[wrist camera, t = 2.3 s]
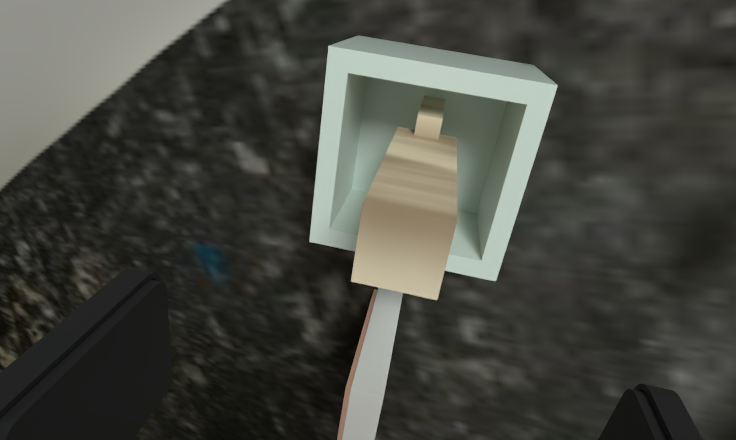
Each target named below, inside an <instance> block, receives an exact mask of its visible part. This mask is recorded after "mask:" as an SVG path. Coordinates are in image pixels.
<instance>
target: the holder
mask: <svg viewBox="0 0 736 440" xmlns="http://www.w3.org/2000/svg"><path fill="white" fill-rule="evenodd" d="M557 86H558V85H557V84H556V83H554V82H553V81H552V80H551V79H550V78H548V77H547V76H546V75H545V74H544V73H542V72H541V71H540V70H539V69H538V68H536V67H535V66H534V65H530V64H524V63H518V62H512V61H506V60H500V59H494V58H488V57H482V56H477V55H471V54H465V53H459V52H453V51H447V50H441V49H435V48H429V47H423V46H417V45H411V44H406V43H400V42H394V41H388V40H382V39H376V38H370V37H364V36H356V37H353V38H350V39H347V40H344V41H341V42H338V43H336V44H333V45H330V46H329V48H328V58H327V68H326V78H325V88H324V98H323V108H322V118H321V129H320V139H319V149H318V159H317V169H316V179H315V189H314V199H313V210H312V220H311V230H310V240H309V242H312V243H317V244H322V245H327V246H331V247H336V248H341V249H345V250H350V251H356V244H357V237H358V231H359V224H360V217H361V211H362V204H363V201H364V199H365V197H366V194H367V192H368V190H369V188H370V186H371V184H372V182H373V179H374V177H375V175H376V173H377V171H378V169H379V167H380V164H381V162H382V160H383V158H384V156H385V154H386V151H387V149H388V147H389V145H390V143H391V141H392V139H393V136H394V134H395V132H396V130H397V128H398V127H402V128H408V129H413V130H415V127H416V122H417V116H418V113H419V110H420V107H421V104H422V101H423V98H424V96H429V97H434V98H440V99H445V104H444V113H443V121H442V125H441V130H440V135H446V136H451V137H456V138H457V224H456V228H455V232H454V236H453V240H452V244H451V248H450V252H449V256H448V260H447V264H446V268H445V271H449V272H454V273H459V274H463V275H468V276H473V277H477V278H482V279H487V280H492V281H496V279H497V276H498V273H499V270H500V267H501V264H502V260H503V257H504V254H505V251H506V248H507V245H508V241H509V238H510V235H511V232H512V229H513V226H514V222H515V219H516V216H517V213H518V210H519V207H520V203H521V200H522V197H523V194H524V191H525V188H526V184H527V181H528V178H529V175H530V172H531V169H532V165H533V162H534V159H535V156H536V153H537V150H538V146H539V143H540V140H541V137H542V134H543V131H544V127H545V124H546V121H547V118H548V115H549V112H550V108H551V105H552V102H553V99H554V96H555V93H556V89H557Z"/></svg>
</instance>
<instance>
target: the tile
mask: <svg viewBox="0 0 736 440" xmlns="http://www.w3.org/2000/svg"><path fill="white" fill-rule="evenodd" d="M402 295H403V293H402V292H397V291H392V290H388V289H383V288H379V287H378V290H376V289H374V291H373V294H372V298H371V301H370V305H369V308H368V312H367V315H366V319H365V322H364V326H363V329H362V333H361V336H360V340H359V343H358V346H357V350H356V353H355V357H354V360H353V364H352V367H351V371H350V374H349V378H348V381H347V385H346V389H345V395H344V401H343V407H342V413H341V419H340V425H339V431H338V437H337V440H375V435H376V430H377V426H378V421H379V416H380V412H381V407H382V403H383V398H384V393H385V387H386V382H387V377H388V371H389V366H390V360H391V355H392V349H393V344H394V339H395V333H396V328H397V322H398V317H399V311H400V306H401V301H402Z"/></svg>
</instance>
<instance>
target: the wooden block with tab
mask: <svg viewBox="0 0 736 440" xmlns="http://www.w3.org/2000/svg"><path fill="white" fill-rule="evenodd" d="M444 104H445V99H440V98H434V97H429V96H424V98H423V101H422V104H421V107H420V110H419V113H418V116H417V122H416V127H415V130H413V129H408V128H402V127H398V128H397V130H396V132H395V134H394V136H393V139H392V141H391V143H390V145H389V147H388V149H387V151H386V154H385V156H384V158H383V160H382V162H381V164H380V167H379V169H378V171H377V173H376V175H375V177H374V179H373V182H372V184H371V186H370V188H369V190H368V192H367V194H366V197H365V199H364V201H363V204H362V211H361V217H360V224H359V231H358V237H357V244H356V251H355V257H354V264H353V270H352V277H351V282H356V283H360V284H365V285H369V286H374V287H379V288H383V289H388V290H392V291H397V292H402V293H406V294H411V295H415V296H420V297H424V298H429V299H434V300H437V299H438V295H439V291H440V287H441V283H442V279H443V275H444V271H445V268H446V264H447V260H448V256H449V252H450V248H451V244H452V240H453V236H454V232H455V228H456V224H457V138H456V137H451V136H446V135H440V130H441V125H442V121H443V113H444Z"/></svg>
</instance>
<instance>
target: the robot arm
mask: <svg viewBox="0 0 736 440" xmlns="http://www.w3.org/2000/svg"><path fill="white" fill-rule="evenodd" d="M172 378H173V372H172V358H171V345H170V332H169V318H168V305H167V291H166V285H165V283H163V282H160V278H159V276H158V274H156V273H152V272H148V271H143V270H139V269H135V268H127V269H125V270H123V271H122V272H121V273H120V274H118V275H117V276H116V277H115V278H114V279H112V280H111V281H110V282H109V283H108V284H106V285H105V286H104V287H103V288H102V289H100V290H99V291H98V292H97V293H96V294H94V295H93V296H92V297H91V298H90V299H88V300H87V301H86V302H85V303H83V304H82V305H81V306H80V307H79V308H77V309H76V310H75V311H74V312H73V313H71V314H70V315H69V316H68V317H67V318H65V319H64V320H63V321H62V322H61V323H59V324H58V325H57V326H56V327H55V328H53V329H52V330H51V331H50V332H49V333H47V334H46V335H45V336H44V337H43V338H41V339H40V340H39V341H38V342H37V343H35V344H34V345H33V346H32V347H31V348H29V349H28V350H27V351H26V352H25V353H23V354H22V355H21V356H20V357H19V358H17V359H16V360H15V361H14V362H13V363H11V364H10V365H9V366H8V367H7V368H5V369H4V370H3V371H2V372H1V373H0V440H133V439H134V437H135V436H136V434H137V433H138V432H139V430H140V429H141V428H142V426H143V425H144V423H145V422H146V421H147V419H148V418H149V417H150V415H151V414H152V412H153V411H154V410H155V408H156V407H157V406H158V404H159V403H160V401H161V400H162V399H163V397H164V396H165V395H166V393H167V392H168V390H169V388H170V385H171V382H172ZM598 440H703V439H702V438H701V436H700V434H699V432H698V430H697V428H696V426H695V425H694V423H693V421H692V419H691V417H690V415H689V413H688V412H687V410H686V408H685V406H684V404H683V402H682V400H681V399H680V397H679V396H678V394H677V393H675V392H674V391H672V390H667V389H663V388H658V387H654V386H650V385H645V384H639V385H637V386H636V387H635V388H634V390H632V389H628V390H626V391H625V392H624V394H623V396H622V397H621V399H620V401H619V403H618V405H617V406H616V408H615V410H614V412H613V414H612V416H611V417H610V419H609V421H608V423H607V425H606V427H605V428H604V430H603V432H602V434H601V436H600V437H599V439H598Z"/></svg>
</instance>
